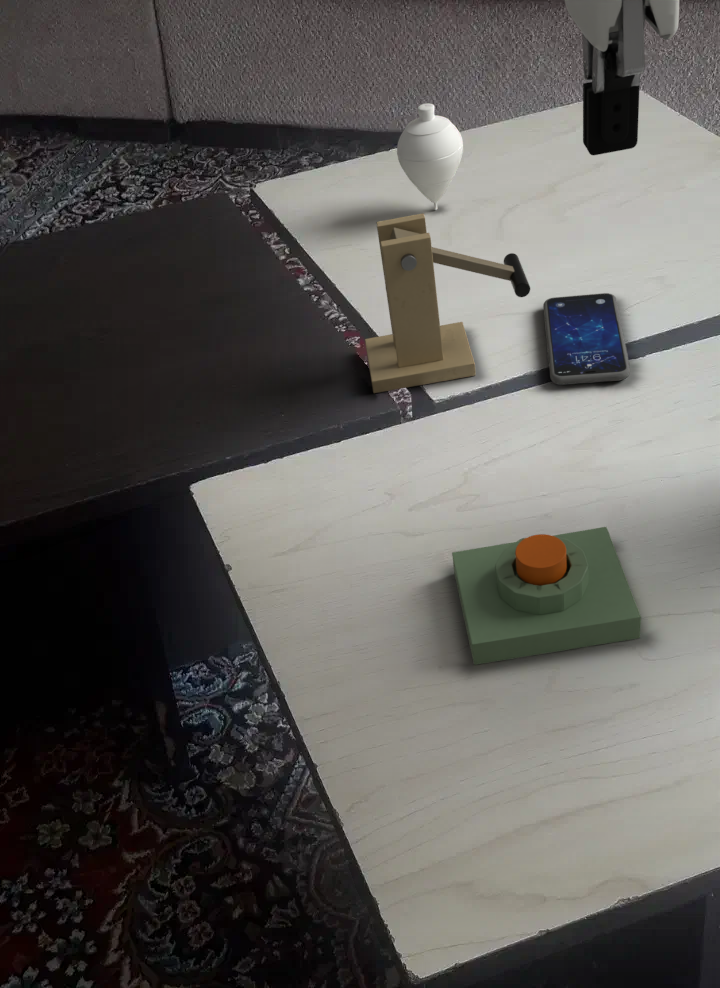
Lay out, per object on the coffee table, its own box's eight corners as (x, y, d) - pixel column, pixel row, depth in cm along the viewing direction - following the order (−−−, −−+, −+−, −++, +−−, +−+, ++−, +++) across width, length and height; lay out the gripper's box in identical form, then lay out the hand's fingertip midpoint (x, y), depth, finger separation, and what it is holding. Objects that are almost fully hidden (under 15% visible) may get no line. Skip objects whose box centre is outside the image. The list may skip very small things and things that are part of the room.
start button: (560, 548, 78) (560, 530, 77) (571, 581, 76) (571, 563, 75) (512, 556, 79) (511, 538, 77) (521, 589, 76) (520, 571, 75)
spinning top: (395, 223, 127) (381, 119, 119) (417, 194, 132) (406, 92, 123) (455, 225, 124) (446, 119, 116) (476, 196, 129) (468, 92, 120)
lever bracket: (463, 333, 108) (451, 200, 98) (475, 375, 102) (464, 239, 92) (366, 350, 108) (345, 220, 98) (373, 393, 103) (351, 259, 93)
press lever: (513, 273, 102) (522, 250, 101) (525, 303, 98) (534, 280, 97) (383, 242, 99) (391, 217, 98) (390, 272, 95) (398, 247, 93)
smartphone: (616, 290, 107) (632, 373, 97) (615, 299, 108) (631, 382, 98) (541, 297, 108) (550, 379, 98) (542, 305, 109) (550, 388, 99)
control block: (606, 547, 83) (606, 508, 80) (640, 638, 76) (642, 598, 73) (454, 573, 84) (449, 534, 81) (474, 665, 77) (469, 626, 74)
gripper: (732, -193, 51) (701, 183, 64) (648, -235, 62) (636, 96, 75) (577, -162, 52) (578, 205, 65) (520, -208, 62) (531, 116, 75)
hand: (609, 146), depth 70 cm, fingers closed
